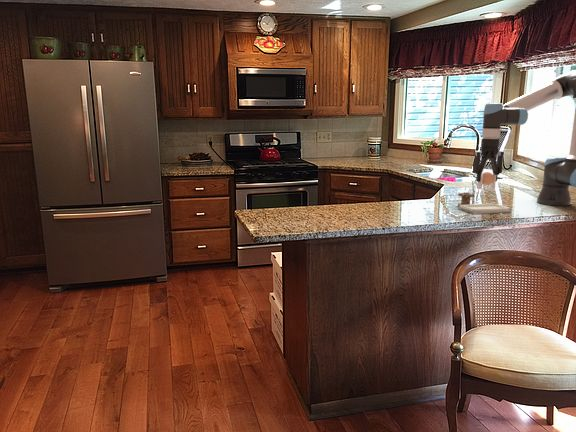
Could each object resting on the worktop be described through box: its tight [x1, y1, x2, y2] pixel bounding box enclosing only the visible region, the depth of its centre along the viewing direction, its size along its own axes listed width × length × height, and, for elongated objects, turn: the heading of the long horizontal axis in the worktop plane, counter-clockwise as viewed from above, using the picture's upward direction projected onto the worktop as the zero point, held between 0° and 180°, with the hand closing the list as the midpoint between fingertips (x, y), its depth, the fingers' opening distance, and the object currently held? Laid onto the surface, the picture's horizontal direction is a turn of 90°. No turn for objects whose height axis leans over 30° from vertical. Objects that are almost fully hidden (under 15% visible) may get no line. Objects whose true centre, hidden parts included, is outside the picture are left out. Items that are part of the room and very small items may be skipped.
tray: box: [458, 203, 512, 215], centre depth 229 cm, size 19×12×2 cm, turn 101°
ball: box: [481, 171, 494, 186], centre depth 226 cm, size 6×6×6 cm
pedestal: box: [457, 192, 475, 207], centre depth 239 cm, size 7×7×6 cm
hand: (485, 188), depth 227 cm, fingers closed on ball, 6 cm apart
